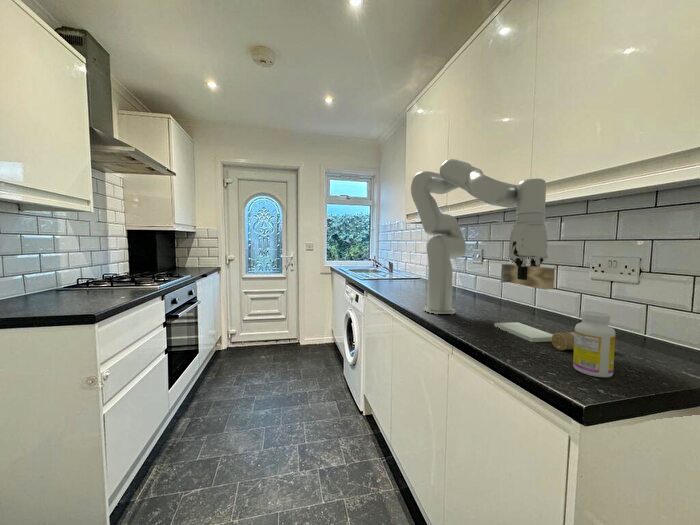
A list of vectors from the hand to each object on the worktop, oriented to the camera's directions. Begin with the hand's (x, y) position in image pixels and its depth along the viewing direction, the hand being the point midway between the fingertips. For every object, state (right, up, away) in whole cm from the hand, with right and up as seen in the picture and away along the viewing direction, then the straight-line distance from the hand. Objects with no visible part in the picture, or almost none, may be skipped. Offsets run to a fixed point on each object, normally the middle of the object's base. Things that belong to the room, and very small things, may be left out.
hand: (527, 278), depth 88 cm
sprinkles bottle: (-1, -16, -14) cm, 21 cm away
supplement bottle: (-3, -19, -27) cm, 33 cm away
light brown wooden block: (0, -2, 0) cm, 2 cm away
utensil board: (0, -17, +1) cm, 17 cm away
